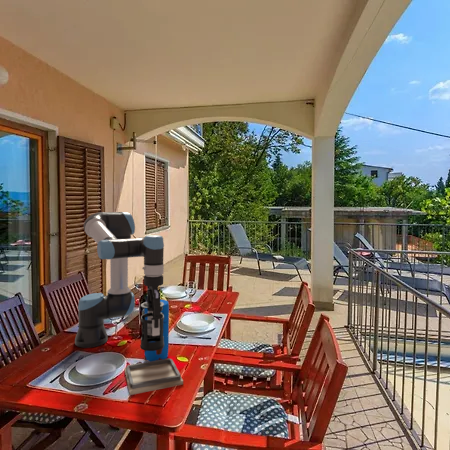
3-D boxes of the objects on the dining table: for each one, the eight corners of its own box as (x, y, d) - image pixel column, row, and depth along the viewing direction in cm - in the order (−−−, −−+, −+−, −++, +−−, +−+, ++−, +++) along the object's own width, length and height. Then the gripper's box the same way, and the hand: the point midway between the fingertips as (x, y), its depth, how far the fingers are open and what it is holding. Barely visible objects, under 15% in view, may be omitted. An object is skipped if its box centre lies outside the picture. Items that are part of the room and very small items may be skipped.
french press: (154, 353, 126) (154, 293, 124) (134, 348, 130) (134, 290, 128) (171, 342, 137) (171, 286, 135) (152, 337, 140) (152, 284, 139)
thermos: (147, 363, 145) (147, 307, 144) (141, 353, 155) (141, 300, 153) (171, 359, 150) (172, 304, 149) (164, 349, 160) (164, 298, 158)
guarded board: (124, 371, 138) (124, 364, 138) (171, 363, 146) (171, 356, 146) (130, 395, 122) (130, 387, 122) (183, 384, 130) (183, 377, 129)
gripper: (139, 270, 140) (139, 322, 141) (149, 281, 120) (148, 342, 121) (157, 269, 143) (157, 320, 144) (169, 280, 123) (169, 339, 124)
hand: (153, 330), depth 133 cm, fingers closed on french press, 9 cm apart
